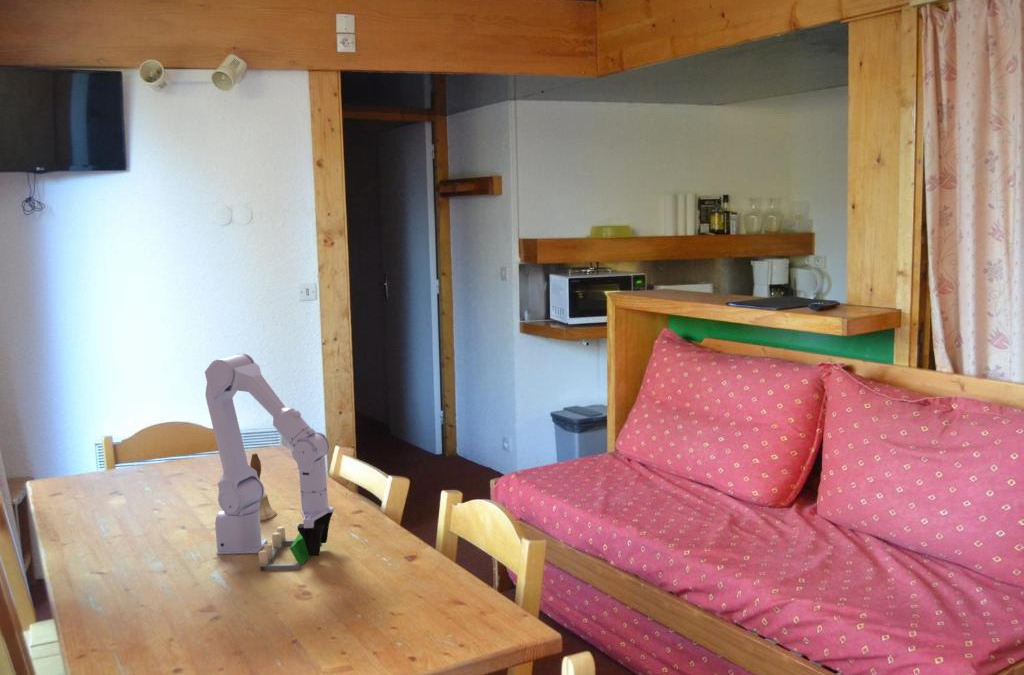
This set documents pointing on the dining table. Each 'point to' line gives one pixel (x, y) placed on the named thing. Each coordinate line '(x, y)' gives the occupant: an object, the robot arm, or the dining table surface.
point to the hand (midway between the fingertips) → (318, 549)
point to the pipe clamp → (300, 550)
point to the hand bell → (264, 507)
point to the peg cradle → (276, 552)
